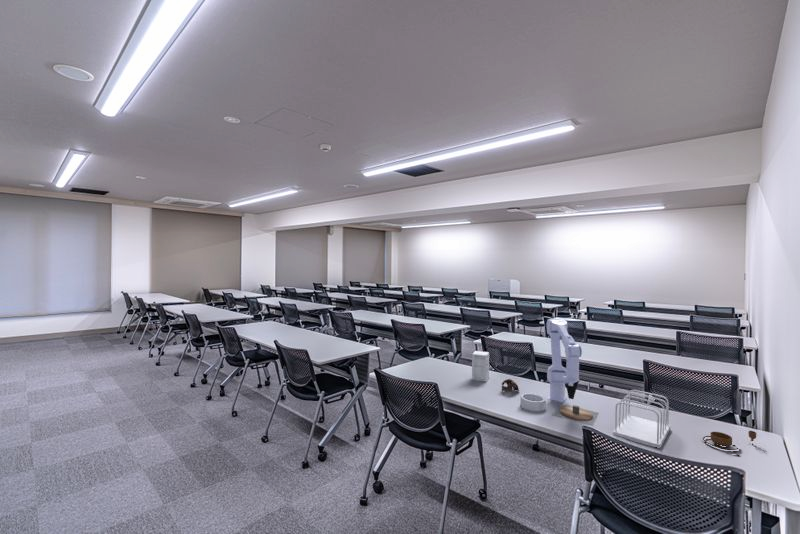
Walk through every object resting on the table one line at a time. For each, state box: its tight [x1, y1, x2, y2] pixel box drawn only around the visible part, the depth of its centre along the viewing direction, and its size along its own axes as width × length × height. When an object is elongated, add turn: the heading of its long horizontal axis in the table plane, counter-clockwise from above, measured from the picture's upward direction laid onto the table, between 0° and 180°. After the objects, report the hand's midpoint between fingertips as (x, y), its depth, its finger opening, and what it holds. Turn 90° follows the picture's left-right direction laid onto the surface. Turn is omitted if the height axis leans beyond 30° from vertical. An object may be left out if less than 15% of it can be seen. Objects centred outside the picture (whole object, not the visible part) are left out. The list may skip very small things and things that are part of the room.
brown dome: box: [501, 378, 520, 394], centre depth 216 cm, size 12×10×8 cm
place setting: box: [702, 430, 757, 447], centre depth 155 cm, size 18×20×6 cm
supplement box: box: [471, 350, 490, 382], centre depth 238 cm, size 10×9×17 cm
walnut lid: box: [560, 404, 593, 421], centre depth 185 cm, size 15×15×4 cm
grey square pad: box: [552, 403, 600, 426], centre depth 185 cm, size 18×18×1 cm
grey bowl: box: [520, 392, 547, 412], centre depth 194 cm, size 12×12×5 cm
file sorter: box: [612, 389, 671, 449], centre depth 167 cm, size 25×17×16 cm
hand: (571, 396), depth 184 cm, fingers open, 7 cm apart
